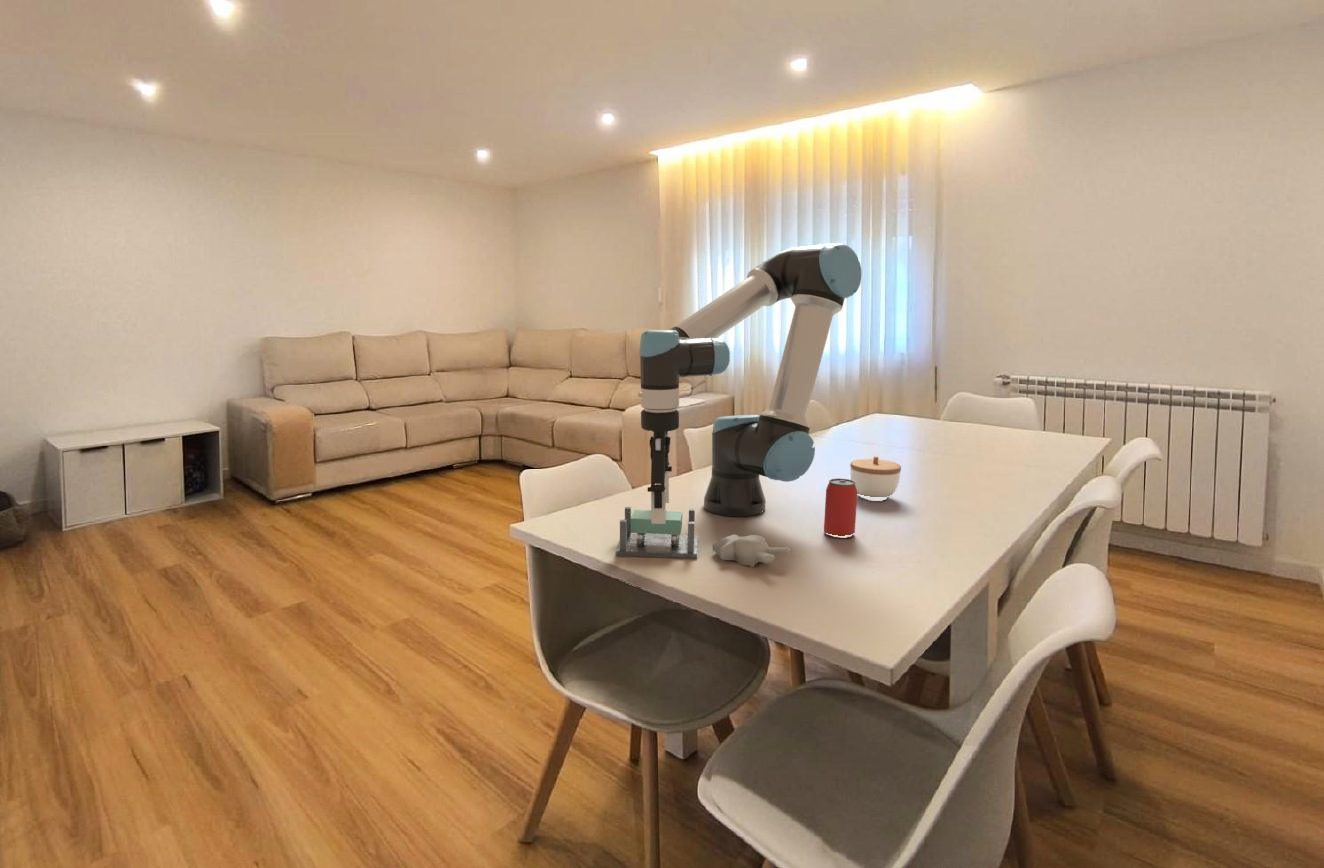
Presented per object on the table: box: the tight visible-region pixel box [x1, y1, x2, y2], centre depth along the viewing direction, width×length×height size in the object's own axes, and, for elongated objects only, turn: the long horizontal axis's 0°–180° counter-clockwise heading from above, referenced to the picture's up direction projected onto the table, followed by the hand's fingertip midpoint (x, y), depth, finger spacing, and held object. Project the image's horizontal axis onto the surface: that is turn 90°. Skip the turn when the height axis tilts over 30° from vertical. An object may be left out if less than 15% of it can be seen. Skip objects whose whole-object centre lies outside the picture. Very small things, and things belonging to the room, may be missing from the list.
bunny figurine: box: [711, 534, 792, 567], centre depth 132 cm, size 10×5×15 cm
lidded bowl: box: [849, 455, 902, 497], centre depth 177 cm, size 13×13×11 cm
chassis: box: [615, 506, 698, 560], centre depth 138 cm, size 16×11×7 cm
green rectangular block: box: [630, 509, 683, 535], centre depth 138 cm, size 10×6×3 cm, turn 85°
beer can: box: [823, 477, 858, 536], centre depth 148 cm, size 7×7×12 cm
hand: (660, 512), depth 138 cm, fingers open, 13 cm apart
